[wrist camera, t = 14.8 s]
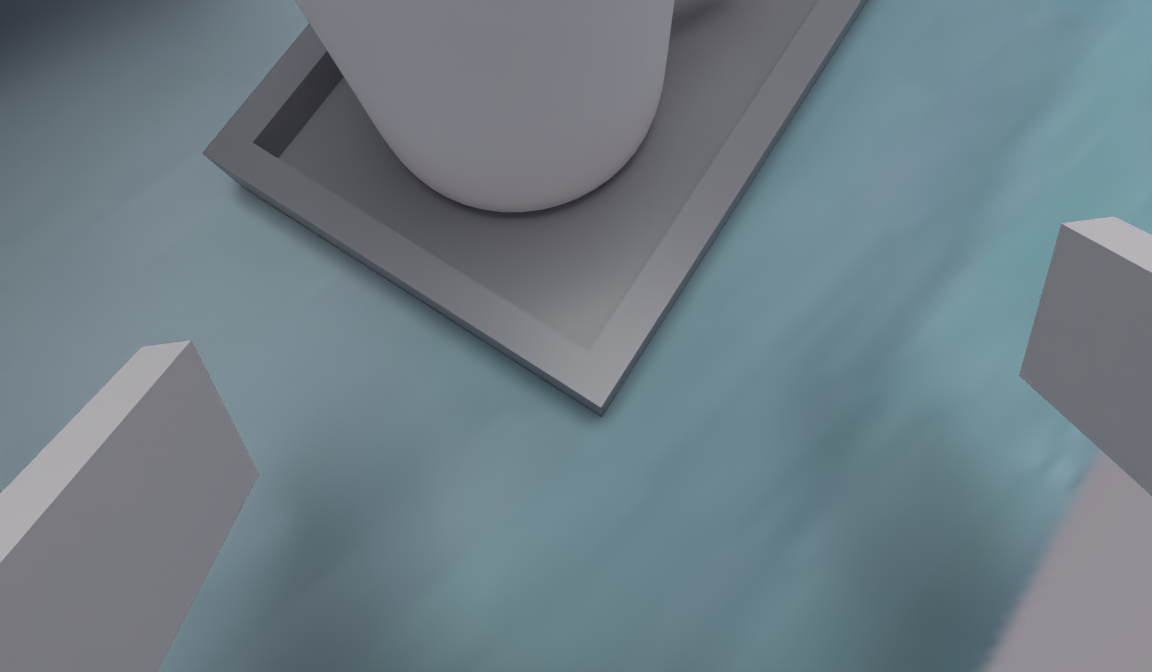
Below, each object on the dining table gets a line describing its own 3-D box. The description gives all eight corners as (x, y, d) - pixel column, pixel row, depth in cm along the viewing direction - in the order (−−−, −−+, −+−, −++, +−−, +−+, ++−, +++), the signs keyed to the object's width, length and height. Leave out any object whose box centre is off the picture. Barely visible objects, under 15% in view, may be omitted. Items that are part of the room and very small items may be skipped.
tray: (241, 186, 20) (202, 153, 18) (549, -197, 23) (543, -261, 21) (602, 416, 18) (601, 407, 16) (891, -38, 21) (920, -93, 19)
